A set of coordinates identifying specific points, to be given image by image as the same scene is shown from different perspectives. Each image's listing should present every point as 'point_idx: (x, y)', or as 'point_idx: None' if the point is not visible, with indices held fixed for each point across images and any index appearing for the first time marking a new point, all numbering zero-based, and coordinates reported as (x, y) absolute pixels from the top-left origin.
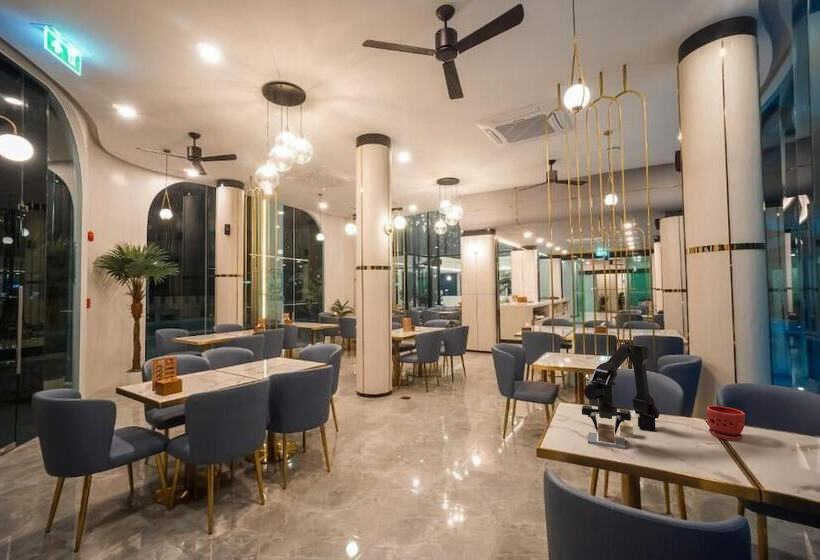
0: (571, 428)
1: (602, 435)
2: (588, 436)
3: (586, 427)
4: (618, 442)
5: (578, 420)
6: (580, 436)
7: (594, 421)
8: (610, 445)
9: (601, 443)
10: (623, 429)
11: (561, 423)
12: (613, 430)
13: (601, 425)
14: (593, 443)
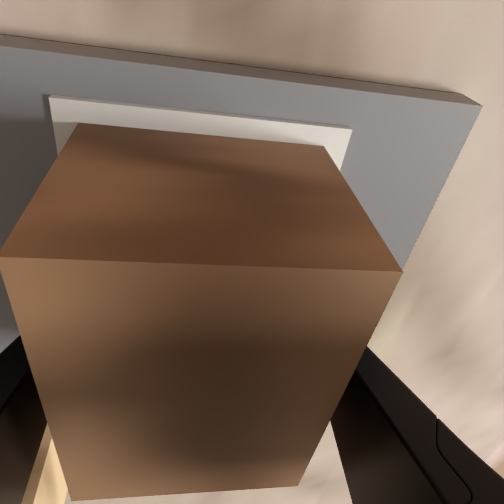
0: (454, 398)
1: (279, 191)
2: (401, 266)
3: (326, 443)
4: (26, 201)
5: (347, 499)
6: (454, 278)
7: (471, 481)
8: (143, 58)
9: (285, 81)
10: None
11: (487, 440)
12: (26, 309)
13: (272, 439)
14: (394, 86)
